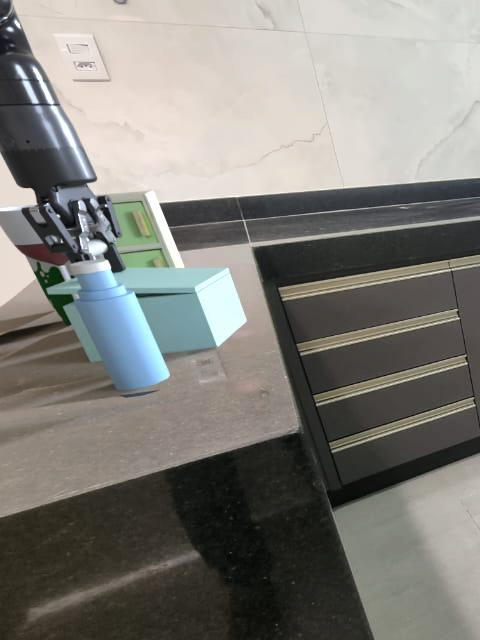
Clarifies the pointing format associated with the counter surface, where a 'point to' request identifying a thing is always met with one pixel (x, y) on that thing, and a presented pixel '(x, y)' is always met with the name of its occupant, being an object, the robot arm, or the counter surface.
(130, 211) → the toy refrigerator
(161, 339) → the box
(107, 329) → the water bottle
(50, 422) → the counter surface
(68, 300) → the milk carton
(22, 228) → the wineglass
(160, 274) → the lid
